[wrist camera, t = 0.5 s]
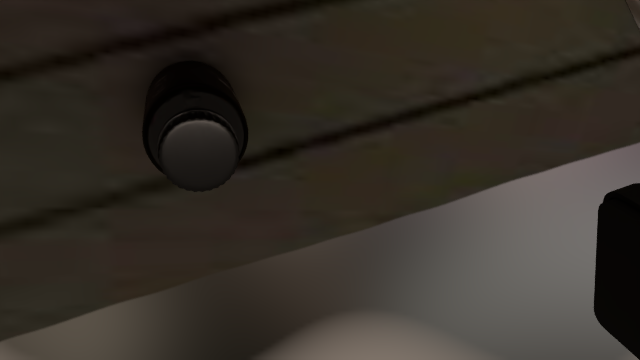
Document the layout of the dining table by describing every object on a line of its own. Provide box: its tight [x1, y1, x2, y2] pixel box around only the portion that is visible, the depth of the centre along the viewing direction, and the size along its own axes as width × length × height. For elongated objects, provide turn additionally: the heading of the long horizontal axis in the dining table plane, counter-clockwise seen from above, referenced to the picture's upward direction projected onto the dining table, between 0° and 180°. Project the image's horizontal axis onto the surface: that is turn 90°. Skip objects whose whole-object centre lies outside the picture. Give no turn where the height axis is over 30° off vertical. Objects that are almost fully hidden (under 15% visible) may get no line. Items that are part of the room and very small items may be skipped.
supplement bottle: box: [142, 61, 248, 192], centre depth 37 cm, size 7×7×12 cm
